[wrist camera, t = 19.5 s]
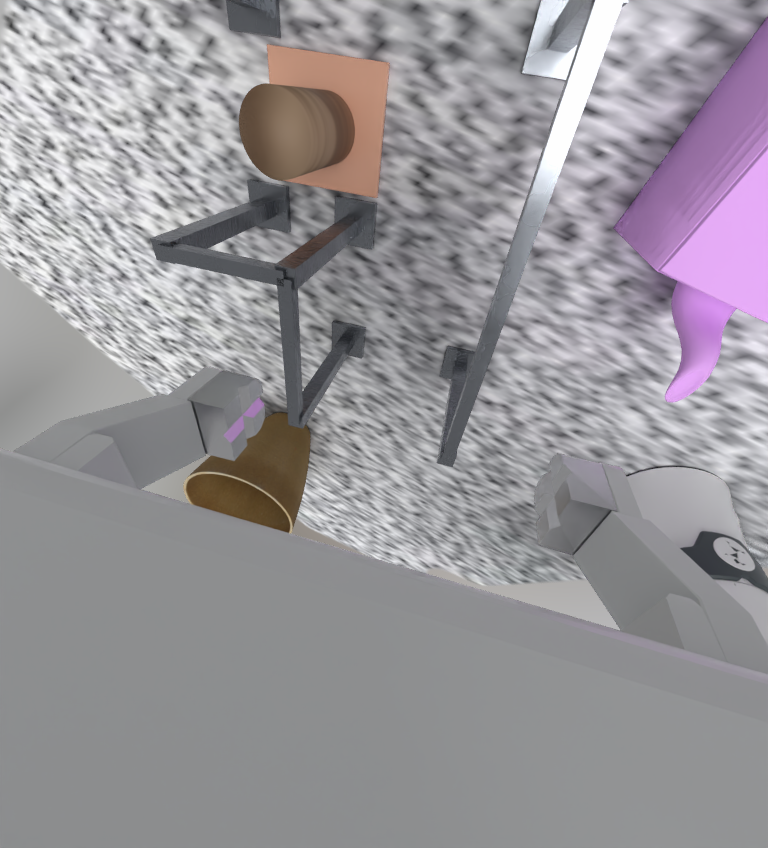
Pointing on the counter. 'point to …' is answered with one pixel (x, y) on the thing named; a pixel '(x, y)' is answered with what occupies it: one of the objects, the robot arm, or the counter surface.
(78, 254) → the counter surface
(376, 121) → the tile
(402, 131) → the counter surface
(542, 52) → the dark grey bar frame
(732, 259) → the teapot
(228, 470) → the plant pot
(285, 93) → the walnut cylinder
